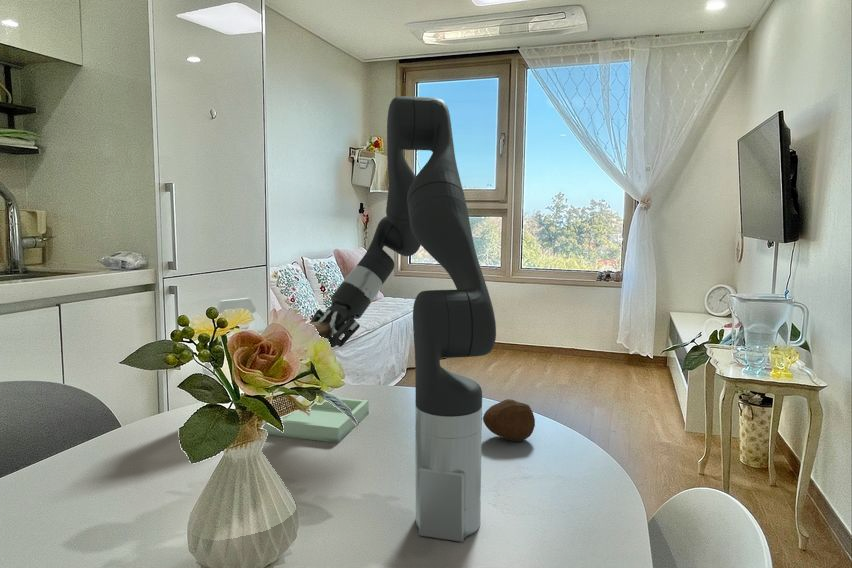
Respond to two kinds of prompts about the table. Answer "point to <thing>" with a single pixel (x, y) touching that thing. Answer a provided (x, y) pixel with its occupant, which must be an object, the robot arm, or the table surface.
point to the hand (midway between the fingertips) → (309, 356)
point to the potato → (510, 420)
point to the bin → (322, 422)
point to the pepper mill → (321, 328)
